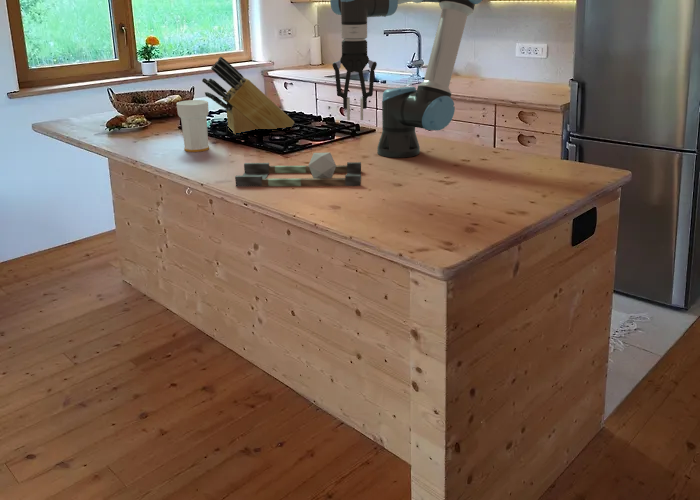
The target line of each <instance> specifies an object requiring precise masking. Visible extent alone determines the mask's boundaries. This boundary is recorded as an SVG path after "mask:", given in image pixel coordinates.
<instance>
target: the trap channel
mask: <svg viewBox="0 0 700 500" xmlns="http://www.w3.org/2000/svg"><path fill="white" fill-rule="evenodd" d="M243 167H244V168H243V169H244V171H243V172H244V173H243V174H242V175H235V176H234V181H235V187H360V186H361V179H362V162H361V161H360V162H357V161H356V162H355V161H353V162H351V161H349V162H347V163H346V164H345V165H341V164H339V165H336V168H335V171H334V173H333V174H335V173H336V174H337V173H340V174H341V173H343V174H345V173H346V174H345V175H344V177H342V178H341V177H339V178H338V177H337V178H335V177H332V178H313V177H311V178H310V177H309V178H308V177H307V178H297V177H296V178H294V177H293V178H292V177H290V178H289V177H288V178H282V177H281V178H280V177H279V178H268V176H269V174H296V173H297V174H303V173H304V174H306V173H307V174H310V173H311V171H310V168H309V166H308V165H270V162H244V163H243ZM311 174H312V173H311Z"/></svg>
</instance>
